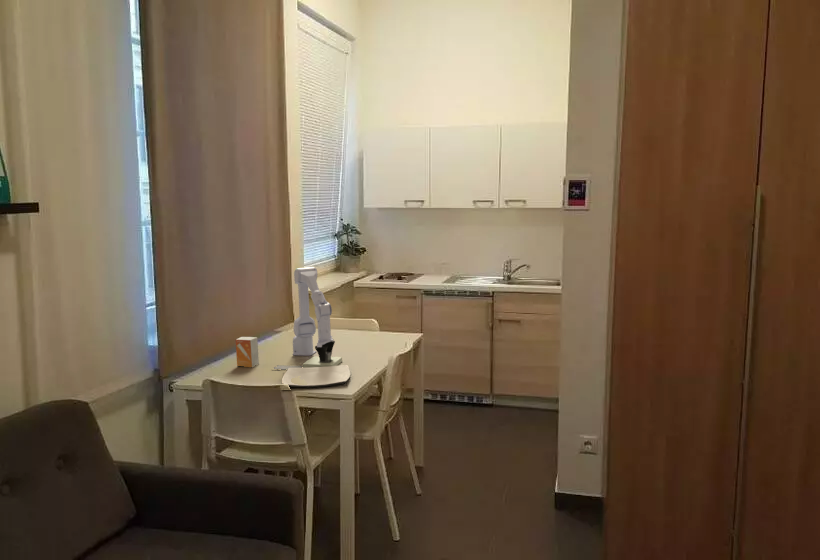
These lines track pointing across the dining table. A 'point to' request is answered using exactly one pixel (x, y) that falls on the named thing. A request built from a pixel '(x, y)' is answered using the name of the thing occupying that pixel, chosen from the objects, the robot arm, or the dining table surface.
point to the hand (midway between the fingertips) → (325, 359)
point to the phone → (286, 367)
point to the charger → (327, 358)
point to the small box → (247, 351)
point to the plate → (318, 376)
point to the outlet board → (316, 363)
